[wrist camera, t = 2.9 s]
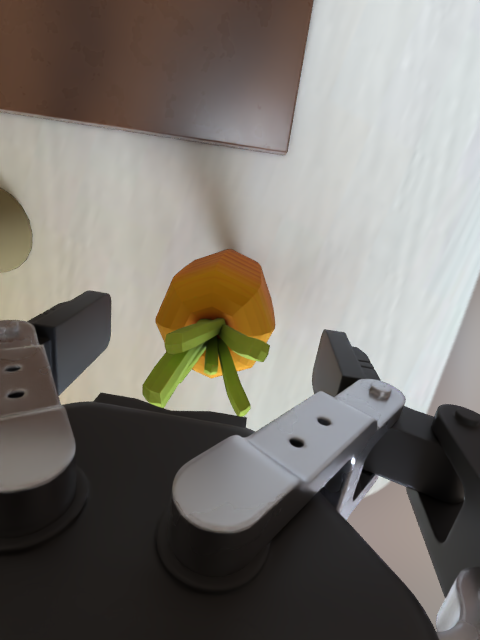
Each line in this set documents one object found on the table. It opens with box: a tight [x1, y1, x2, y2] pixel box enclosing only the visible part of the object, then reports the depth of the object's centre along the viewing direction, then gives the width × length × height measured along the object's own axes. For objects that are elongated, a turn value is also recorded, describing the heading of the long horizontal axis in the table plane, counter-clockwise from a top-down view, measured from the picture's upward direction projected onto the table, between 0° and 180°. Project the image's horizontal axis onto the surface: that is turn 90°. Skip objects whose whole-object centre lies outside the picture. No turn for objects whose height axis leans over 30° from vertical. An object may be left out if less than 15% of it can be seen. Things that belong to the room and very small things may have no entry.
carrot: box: [143, 249, 275, 417], centre depth 17 cm, size 5×5×15 cm
